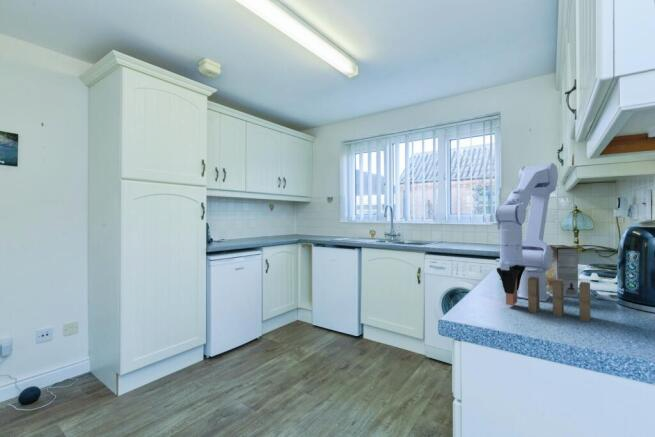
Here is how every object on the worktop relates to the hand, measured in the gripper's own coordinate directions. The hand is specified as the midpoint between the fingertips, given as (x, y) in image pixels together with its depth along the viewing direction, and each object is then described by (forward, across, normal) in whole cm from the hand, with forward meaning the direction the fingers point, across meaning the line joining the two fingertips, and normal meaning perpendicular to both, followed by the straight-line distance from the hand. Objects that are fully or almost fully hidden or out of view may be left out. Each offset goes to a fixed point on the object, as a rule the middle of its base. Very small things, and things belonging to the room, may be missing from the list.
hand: (511, 291), depth 90 cm
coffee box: (+5, -27, +8) cm, 29 cm away
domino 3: (+4, 0, +11) cm, 12 cm away
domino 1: (+3, 0, 0) cm, 3 cm away
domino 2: (+4, 0, +6) cm, 7 cm away
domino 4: (+4, 0, +16) cm, 17 cm away
